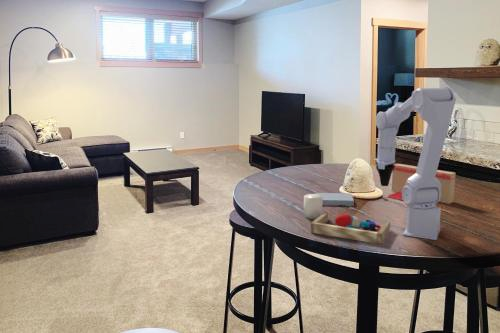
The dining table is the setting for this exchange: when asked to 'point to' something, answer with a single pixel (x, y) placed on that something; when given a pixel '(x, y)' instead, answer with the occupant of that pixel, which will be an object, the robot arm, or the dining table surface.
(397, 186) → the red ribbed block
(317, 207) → the cream rounded block
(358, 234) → the wooden tray
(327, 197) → the slate box
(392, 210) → the dining table surface
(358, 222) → the toy figure
